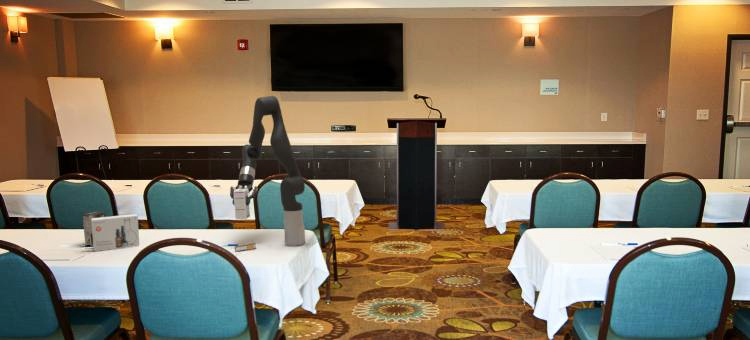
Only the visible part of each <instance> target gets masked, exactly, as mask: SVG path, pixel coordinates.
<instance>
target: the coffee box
mask: <svg viewBox="0 0 750 340" xmlns="http://www.w3.org/2000/svg"><path fill="white" fill-rule="evenodd" d="M101 217H106V212H104V211H93V212H88V213H84V214H82V223H83V225H82V226H83V234H84V245H85V246H87V245H91V246H92V247H93V236H92V221H91V218H101ZM91 246H90V247H91Z"/></svg>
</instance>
